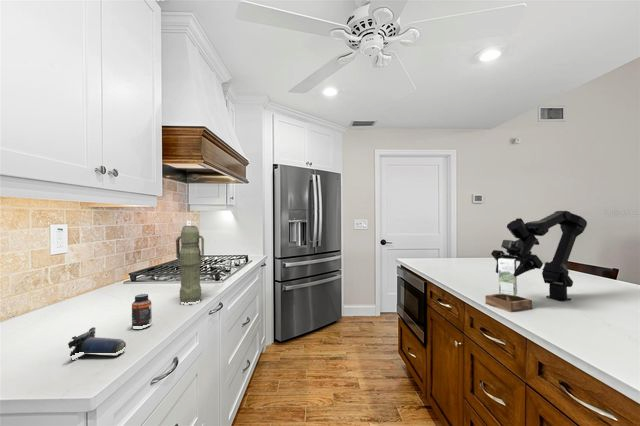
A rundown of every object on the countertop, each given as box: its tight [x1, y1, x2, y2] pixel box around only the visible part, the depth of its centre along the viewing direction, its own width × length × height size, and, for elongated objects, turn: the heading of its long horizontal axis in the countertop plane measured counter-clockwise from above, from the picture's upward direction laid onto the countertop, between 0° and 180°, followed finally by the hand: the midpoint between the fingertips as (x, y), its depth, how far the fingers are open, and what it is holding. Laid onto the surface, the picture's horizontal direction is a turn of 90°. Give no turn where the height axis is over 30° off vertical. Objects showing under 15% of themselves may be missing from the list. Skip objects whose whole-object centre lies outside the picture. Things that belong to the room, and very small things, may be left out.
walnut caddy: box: [485, 293, 533, 313], centre depth 117 cm, size 11×11×4 cm
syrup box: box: [497, 258, 518, 296], centre depth 117 cm, size 6×6×14 cm
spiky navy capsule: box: [67, 327, 127, 356], centre depth 81 cm, size 9×8×12 cm
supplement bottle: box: [131, 293, 153, 327], centre depth 101 cm, size 6×6×11 cm
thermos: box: [175, 225, 205, 303], centre depth 130 cm, size 9×12×35 cm
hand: (505, 274), depth 116 cm, fingers closed on syrup box, 7 cm apart
